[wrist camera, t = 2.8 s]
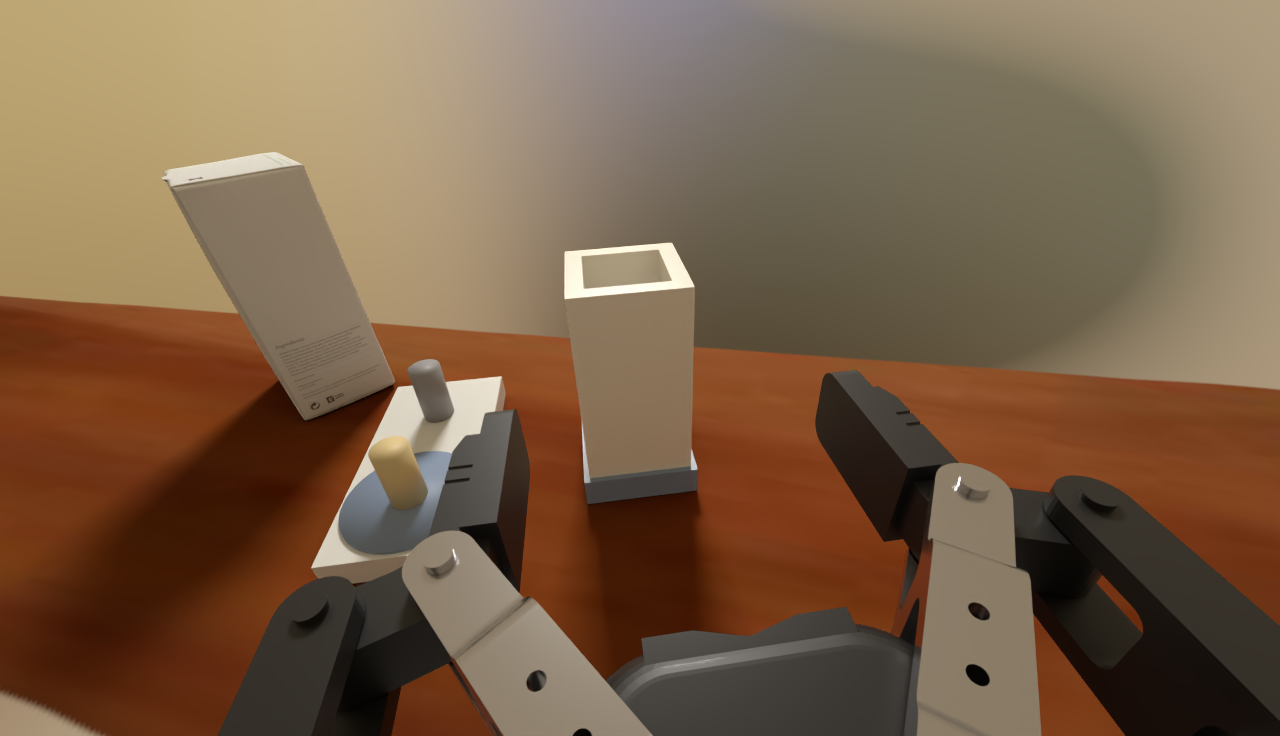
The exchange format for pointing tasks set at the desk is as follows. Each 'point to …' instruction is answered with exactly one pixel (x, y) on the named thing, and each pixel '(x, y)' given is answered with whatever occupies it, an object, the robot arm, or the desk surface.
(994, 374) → the desk surface
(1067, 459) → the desk surface
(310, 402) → the skincare box
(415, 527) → the pin board
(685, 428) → the sleeve
